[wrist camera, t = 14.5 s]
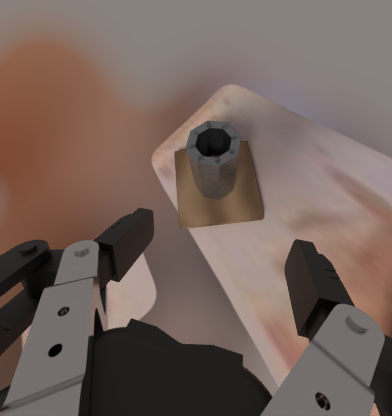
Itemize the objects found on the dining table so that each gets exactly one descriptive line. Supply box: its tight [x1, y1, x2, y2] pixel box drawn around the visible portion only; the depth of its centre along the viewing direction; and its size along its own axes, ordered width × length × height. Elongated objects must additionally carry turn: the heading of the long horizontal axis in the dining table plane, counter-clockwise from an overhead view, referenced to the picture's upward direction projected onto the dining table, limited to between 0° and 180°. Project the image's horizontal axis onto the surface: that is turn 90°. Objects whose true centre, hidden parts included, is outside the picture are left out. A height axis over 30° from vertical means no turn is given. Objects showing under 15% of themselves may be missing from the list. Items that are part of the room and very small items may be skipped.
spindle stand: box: [175, 141, 264, 229], centre depth 29 cm, size 13×14×7 cm
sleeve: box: [186, 121, 241, 200], centre depth 26 cm, size 6×6×10 cm
